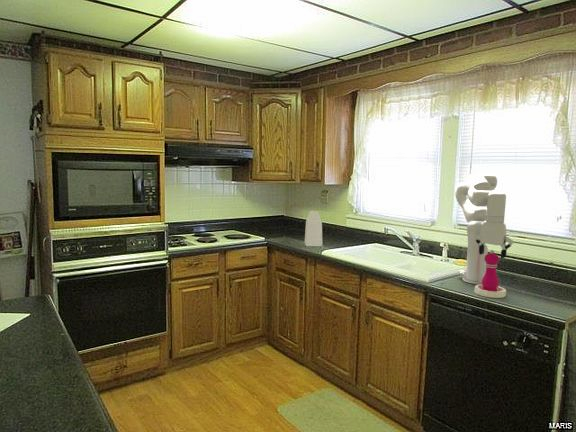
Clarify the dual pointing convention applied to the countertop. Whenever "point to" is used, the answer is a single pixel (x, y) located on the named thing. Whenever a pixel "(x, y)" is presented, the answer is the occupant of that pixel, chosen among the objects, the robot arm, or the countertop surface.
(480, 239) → the robot arm
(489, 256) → the pepper mill
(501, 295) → the ring holder
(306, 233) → the milk
